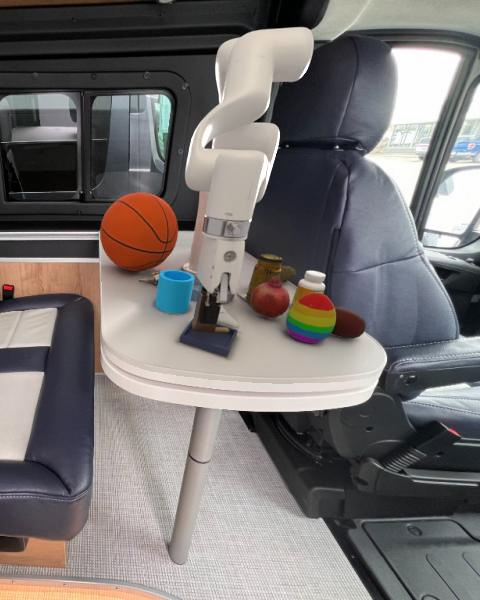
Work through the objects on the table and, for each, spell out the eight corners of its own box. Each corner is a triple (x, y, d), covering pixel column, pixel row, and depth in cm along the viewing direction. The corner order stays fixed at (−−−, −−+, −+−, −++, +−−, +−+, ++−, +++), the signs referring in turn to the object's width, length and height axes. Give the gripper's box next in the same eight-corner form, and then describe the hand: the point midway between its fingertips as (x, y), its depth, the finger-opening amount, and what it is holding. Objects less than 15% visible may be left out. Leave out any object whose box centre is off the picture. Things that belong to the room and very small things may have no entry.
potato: (362, 319, 70) (347, 343, 70) (318, 300, 73) (304, 323, 73) (380, 319, 63) (362, 346, 63) (330, 298, 66) (314, 323, 67)
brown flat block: (191, 326, 66) (198, 290, 63) (225, 328, 66) (234, 292, 63) (194, 331, 64) (202, 295, 61) (230, 334, 64) (239, 297, 61)
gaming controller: (243, 317, 67) (209, 314, 67) (239, 333, 68) (205, 330, 69) (228, 298, 76) (198, 295, 77) (224, 313, 78) (195, 310, 78)
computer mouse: (136, 278, 96) (137, 265, 95) (185, 280, 96) (188, 267, 94) (139, 288, 90) (141, 274, 88) (192, 290, 89) (195, 276, 88)
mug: (187, 316, 75) (194, 284, 72) (152, 310, 78) (157, 278, 74) (190, 296, 86) (195, 267, 82) (159, 291, 88) (163, 263, 85)
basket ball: (78, 249, 108) (95, 179, 94) (131, 244, 120) (154, 181, 106) (120, 291, 93) (147, 215, 79) (175, 280, 106) (208, 212, 92)
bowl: (190, 281, 96) (192, 272, 94) (237, 292, 89) (240, 282, 88) (176, 296, 86) (178, 286, 84) (227, 309, 79) (230, 298, 78)
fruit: (283, 313, 78) (296, 275, 74) (284, 328, 72) (298, 286, 67) (247, 306, 81) (257, 268, 77) (245, 319, 75) (256, 279, 71)
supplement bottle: (307, 316, 77) (321, 278, 73) (285, 307, 81) (297, 271, 77) (320, 312, 79) (334, 275, 75) (298, 303, 84) (310, 268, 80)
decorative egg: (333, 339, 67) (352, 296, 63) (317, 351, 63) (336, 306, 59) (292, 323, 73) (306, 282, 69) (274, 333, 69) (289, 291, 65)
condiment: (264, 294, 88) (276, 252, 83) (282, 308, 81) (297, 263, 75) (238, 294, 88) (249, 252, 83) (254, 308, 80) (267, 262, 75)
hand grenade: (294, 283, 97) (262, 289, 96) (283, 270, 100) (252, 277, 100) (301, 271, 93) (268, 278, 93) (289, 259, 97) (257, 265, 96)
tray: (192, 324, 72) (193, 317, 71) (236, 337, 67) (237, 330, 67) (179, 342, 65) (180, 334, 64) (227, 357, 61) (229, 350, 60)
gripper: (268, 239, 49) (239, 342, 57) (230, 219, 64) (211, 303, 71) (218, 237, 49) (196, 339, 57) (192, 218, 64) (177, 301, 72)
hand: (205, 318), depth 64 cm, fingers closed on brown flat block, 2 cm apart
